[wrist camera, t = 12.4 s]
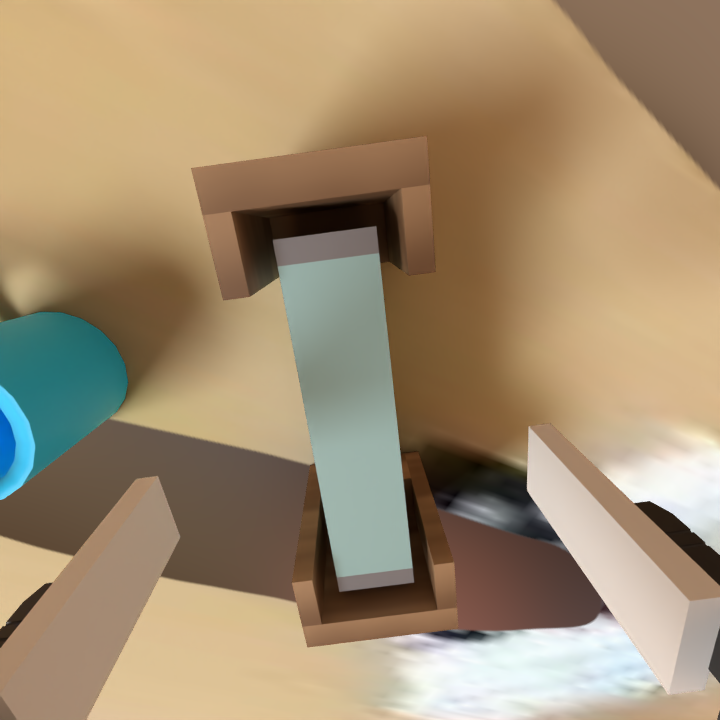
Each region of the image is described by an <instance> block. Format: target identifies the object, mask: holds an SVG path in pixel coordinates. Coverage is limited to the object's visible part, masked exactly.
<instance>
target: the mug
mask: <svg viewBox="0 0 720 720" xmlns="http://www.w3.org/2000/svg"><path fill="white" fill-rule="evenodd" d="M127 386H128V378H127V372H126V367H125V363H124V361H123V359H122V357H121V355H120V353H119V352H118V350H117V348H116V346H115V345H114V344H113V343H112V342H111V341H110V340H109V339H108V338H107V336H106V335H105V334H104V333H103V332H102V331H101V330H99V329H98V328H96V327H94V326H93V325H91V324H90V323H88V322H86V321H85V320H83V319H81V318H78V317H74V316H71V315H68V314H65V313H62V312H38V313H34V314H30V315H27V316H23V317H19V318H15V319H11V320H7V321H3V322H0V500H1V499H4V498H6V497H7V496H8V495H10V494H11V493H12V492H14V491H15V490H17V489H18V488H20V487H21V486H22V485H24V484H25V483H26V482H28V481H29V480H30V479H31V478H33V477H34V476H35V475H37V474H38V473H39V472H40V471H42V470H43V469H44V468H46V467H47V466H48V465H49V464H51V463H52V462H53V461H54V460H56V459H57V458H58V457H60V456H61V455H62V454H63V453H65V452H66V451H67V450H69V449H70V448H71V447H72V446H74V445H75V444H76V443H77V442H79V441H80V440H81V439H83V438H84V437H85V436H86V435H88V434H89V433H90V432H92V431H93V430H94V429H95V428H97V427H98V426H99V425H101V424H102V423H103V422H104V421H106V420H107V419H108V418H110V417H111V416H112V415H113V414H115V413H116V412H117V410H118V409H119V407H120V406H121V404H122V403H123V401H124V400H125V396H126V391H127Z"/></svg>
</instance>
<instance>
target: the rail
mask: <svg viewBox="0 0 720 720" xmlns="http://www.w3.org/2000/svg"><path fill="white" fill-rule="evenodd" d="M273 245H274V250H275V256H276V261H277V266H278V271H279V277H280V282H281V287H282V292H283V298H284V303H285V308H286V313H287V319H288V324H289V329H290V334H291V340H292V345H293V350H294V355H295V361H296V366H297V371H298V377H299V382H300V387H301V392H302V398H303V403H304V408H305V413H306V419H307V424H308V429H309V434H310V440H311V445H312V450H313V455H314V461H315V466H316V471H317V476H318V482H319V487H320V492H321V497H322V503H323V508H324V513H325V519H326V524H327V529H328V534H329V540H330V545H331V550H332V555H333V561H334V566H335V571H336V576H337V582H338V587H339V592H342V591H350V590H358V589H366V588H374V587H382V586H390V585H399V584H407V583H414V576H413V567H412V558H411V548H410V539H409V529H408V520H407V511H406V501H405V492H404V482H403V473H402V464H401V454H400V445H399V435H398V426H397V417H396V407H395V398H394V389H393V379H392V370H391V360H390V351H389V342H388V332H387V323H386V313H385V304H384V295H383V285H382V276H381V267H380V257H379V248H378V238H377V229H376V226H374V227H366V228H359V229H351V230H344V231H336V232H329V233H321V234H314V235H306V236H299V237H291V238H284V239H276V240H273Z"/></svg>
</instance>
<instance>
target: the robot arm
mask: <svg viewBox="0 0 720 720" xmlns="http://www.w3.org/2000/svg"><path fill="white" fill-rule="evenodd" d="M527 491H528V493H529V494H530V495H531V497H532V498H533V500H534V501H535V503H536V504H537V506H538V507H539V508H540V510H541V511H542V513H543V514H544V516H545V517H546V519H547V520H548V521H549V523H550V524H551V526H552V527H553V529H554V530H555V532H556V533H557V534H558V536H559V537H560V539H561V540H562V542H563V543H564V544H565V546H566V547H567V549H568V550H569V552H570V553H571V555H572V556H573V557H574V559H575V560H576V562H577V563H578V565H579V566H580V567H581V569H582V570H583V572H584V573H585V575H586V576H587V578H588V579H589V581H590V582H591V583H592V585H593V586H594V588H595V589H596V591H597V592H598V594H599V595H600V596H601V598H602V599H603V601H604V602H605V604H606V605H607V607H608V608H609V609H610V611H611V612H612V614H613V615H614V617H615V618H616V620H617V621H618V622H619V624H620V625H621V627H622V628H623V630H624V631H625V633H626V634H627V635H628V637H629V638H630V640H631V641H632V643H633V644H634V645H635V647H636V648H637V650H638V651H639V653H640V654H641V656H642V657H643V658H644V660H645V661H646V663H647V664H648V666H649V667H650V669H651V670H652V671H653V673H654V674H655V676H656V677H657V679H658V680H659V682H660V683H661V684H662V686H663V687H664V689H665V690H666V692H667V693H668V695H671V694H679V693H686V692H693V691H701V690H705V686H706V683H707V679H708V675H709V672H711V673H712V674H713V675H714V677H715V678H716V679H717V680H718V682H719V683H720V555H719V554H718V553H717V552H715V551H714V550H713V549H712V548H711V547H710V546H706V544H705V542H704V541H703V540H702V539H701V538H700V537H698V536H697V535H696V534H695V533H694V532H693V533H692V532H691V531H690V529H689V528H688V527H687V526H686V525H685V524H684V523H682V522H681V521H680V520H679V519H678V518H677V517H676V516H674V515H673V514H672V513H670V512H669V511H667V510H665V509H663V508H661V507H659V506H658V505H656V504H654V503H652V502H650V501H647V502H640V503H633V502H632V501H631V500H630V499H629V498H628V497H627V496H626V495H625V494H624V493H623V492H622V491H620V490H619V489H618V488H617V487H616V486H615V485H614V484H613V483H612V482H611V481H610V480H609V479H608V478H607V477H606V476H605V475H604V474H603V473H602V472H601V471H600V470H599V469H598V468H596V467H595V466H594V465H593V464H592V463H591V462H590V461H589V460H588V459H587V458H586V457H585V456H584V455H583V454H582V453H581V452H580V451H579V450H578V449H577V448H576V447H575V446H574V445H573V444H571V443H570V442H569V441H568V440H567V439H566V438H565V437H564V436H563V435H562V434H561V433H560V432H559V431H558V430H557V429H556V428H555V427H554V426H553V425H552V424H551V423H548V424H541V425H534V426H529V434H528V474H527ZM179 538H180V535H179V533H178V530H177V527H176V525H175V522H174V519H173V516H172V513H171V511H170V508H169V505H168V502H167V500H166V497H165V494H164V491H163V489H162V486H161V483H160V481H159V478H158V476H155V477H148V478H140V479H136V480H135V481H134V483H133V484H132V485H131V486H130V487H129V489H128V490H127V491H126V493H125V494H124V495H123V496H122V498H121V499H120V500H119V501H118V502H117V504H116V505H115V506H114V508H113V509H112V510H111V511H110V512H109V514H108V515H107V516H106V517H105V519H104V520H103V521H102V522H101V524H100V525H99V526H98V527H97V529H96V530H95V531H94V532H93V534H92V535H91V536H90V537H89V539H88V540H87V541H86V542H85V543H84V545H83V546H82V547H81V548H80V550H79V551H78V552H77V553H76V555H75V556H74V557H73V558H72V560H71V561H70V562H69V563H68V565H67V566H66V567H65V568H64V570H63V571H62V572H61V573H60V575H59V576H58V577H57V578H56V580H55V581H54V582H53V583H47V584H44V585H43V586H42V587H41V588H40V589H38V590H37V591H36V592H35V593H34V594H32V595H31V596H30V597H29V598H28V599H26V600H25V601H24V602H23V603H22V604H21V605H20V607H19V608H18V609H17V610H16V611H15V613H14V614H13V615H12V616H11V617H10V618H9V620H8V621H7V622H6V626H3V627H2V628H1V629H0V720H86V719H87V717H88V715H89V713H90V711H91V709H92V708H93V706H94V704H95V702H96V700H97V698H98V696H99V694H100V692H101V690H102V688H103V686H104V684H105V682H106V680H107V678H108V676H109V675H110V673H111V671H112V669H113V667H114V665H115V663H116V661H117V659H118V657H119V655H120V653H121V651H122V649H123V647H124V645H125V643H126V642H127V640H128V638H129V636H130V634H131V632H132V630H133V628H134V626H135V624H136V622H137V620H138V618H139V616H140V614H141V612H142V610H143V608H144V607H145V605H146V603H147V601H148V599H149V597H150V595H151V593H152V591H153V589H154V587H155V585H156V583H157V581H158V579H159V577H160V575H161V574H162V572H163V569H164V568H165V566H166V564H167V562H168V560H169V558H170V556H171V554H172V552H173V550H174V548H175V546H176V544H177V542H178V540H179ZM717 720H720V712H719V715H718V719H717Z"/></svg>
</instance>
